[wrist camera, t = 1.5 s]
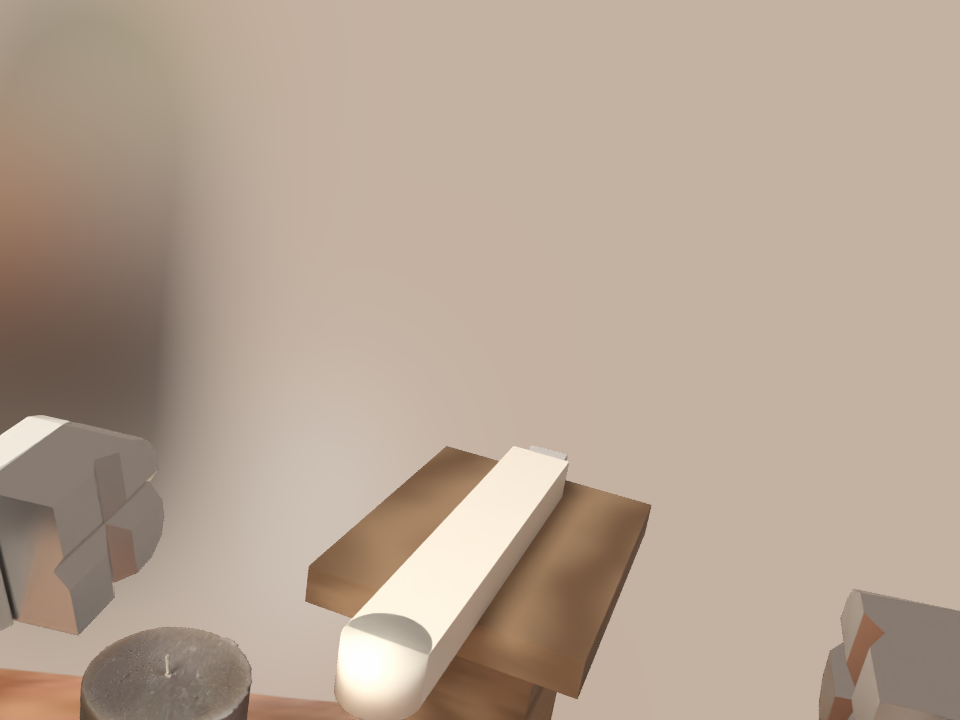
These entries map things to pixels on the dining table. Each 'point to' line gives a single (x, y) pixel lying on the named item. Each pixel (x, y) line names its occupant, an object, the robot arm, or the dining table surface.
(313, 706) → the dining table surface
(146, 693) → the pillar candle
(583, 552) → the stand
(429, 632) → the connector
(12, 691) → the dining table surface
